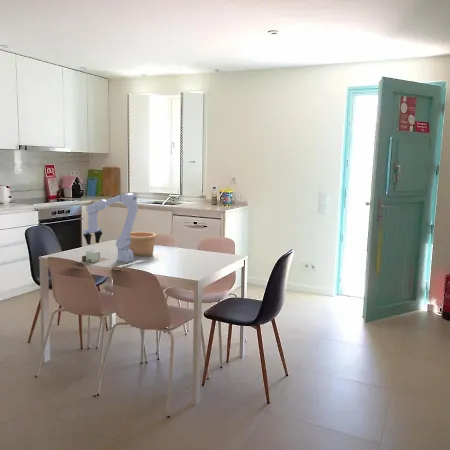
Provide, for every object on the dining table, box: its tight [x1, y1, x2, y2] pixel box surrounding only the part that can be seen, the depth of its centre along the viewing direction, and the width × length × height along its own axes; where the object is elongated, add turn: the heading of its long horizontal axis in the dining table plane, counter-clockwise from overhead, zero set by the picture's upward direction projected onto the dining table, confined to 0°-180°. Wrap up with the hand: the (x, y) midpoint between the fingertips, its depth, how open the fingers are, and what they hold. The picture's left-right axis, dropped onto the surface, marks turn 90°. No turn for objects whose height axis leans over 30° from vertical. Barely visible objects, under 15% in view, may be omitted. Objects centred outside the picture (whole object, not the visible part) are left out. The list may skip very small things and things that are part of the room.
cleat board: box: [81, 252, 110, 264], centre depth 284 cm, size 10×14×4 cm
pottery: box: [129, 231, 158, 258], centre depth 309 cm, size 22×22×14 cm
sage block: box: [85, 249, 100, 263], centre depth 281 cm, size 6×5×6 cm
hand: (93, 243), depth 290 cm, fingers open, 7 cm apart
